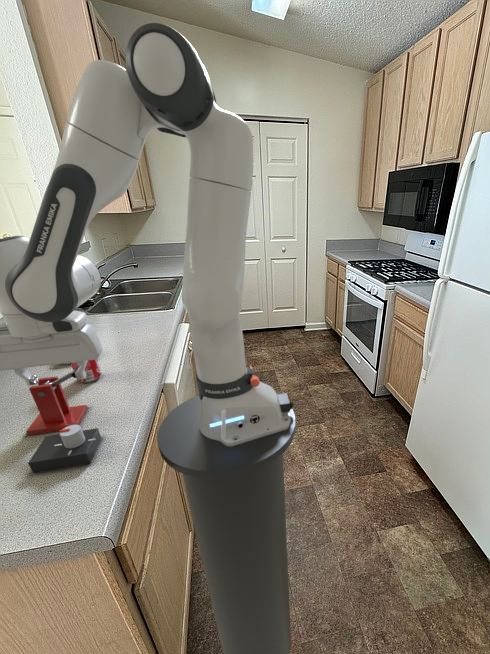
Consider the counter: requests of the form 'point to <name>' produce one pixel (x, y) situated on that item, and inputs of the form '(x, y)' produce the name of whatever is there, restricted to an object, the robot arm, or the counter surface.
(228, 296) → the robot arm
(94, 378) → the soda can
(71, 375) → the lever
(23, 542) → the counter surface
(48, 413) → the red lever mount bracket
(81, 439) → the dial
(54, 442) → the console
